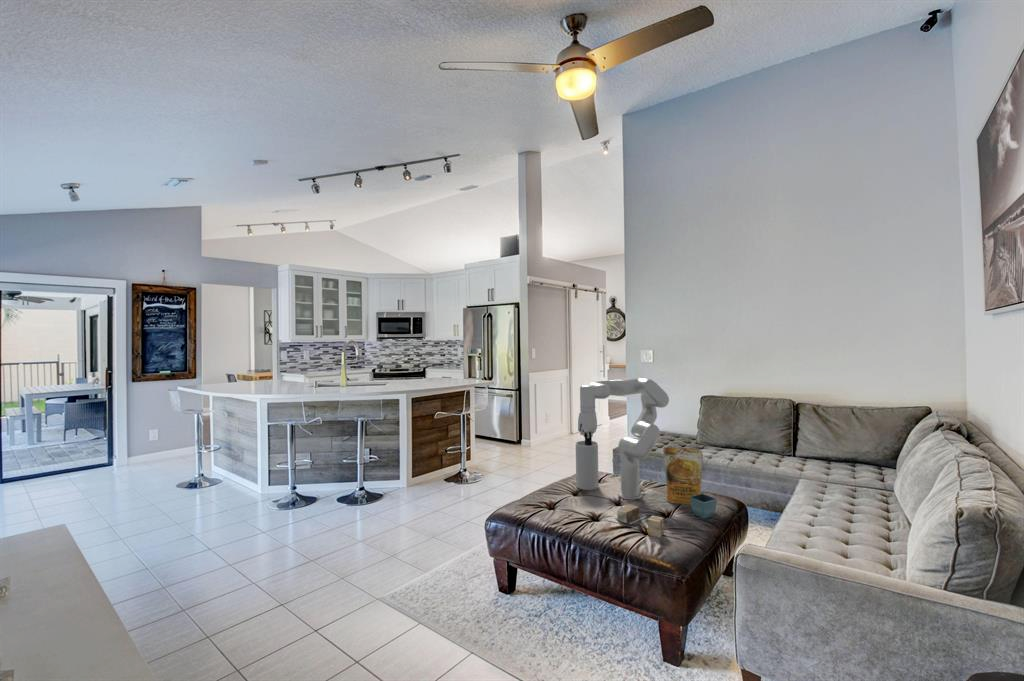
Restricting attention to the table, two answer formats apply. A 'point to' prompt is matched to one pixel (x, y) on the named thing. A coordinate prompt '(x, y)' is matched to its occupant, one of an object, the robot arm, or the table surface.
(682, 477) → the pancake mix bag
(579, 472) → the cylinder vase
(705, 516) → the flower pot
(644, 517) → the grey rectangular panel
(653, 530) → the oak block
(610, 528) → the table surface
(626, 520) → the walnut block
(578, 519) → the table surface
